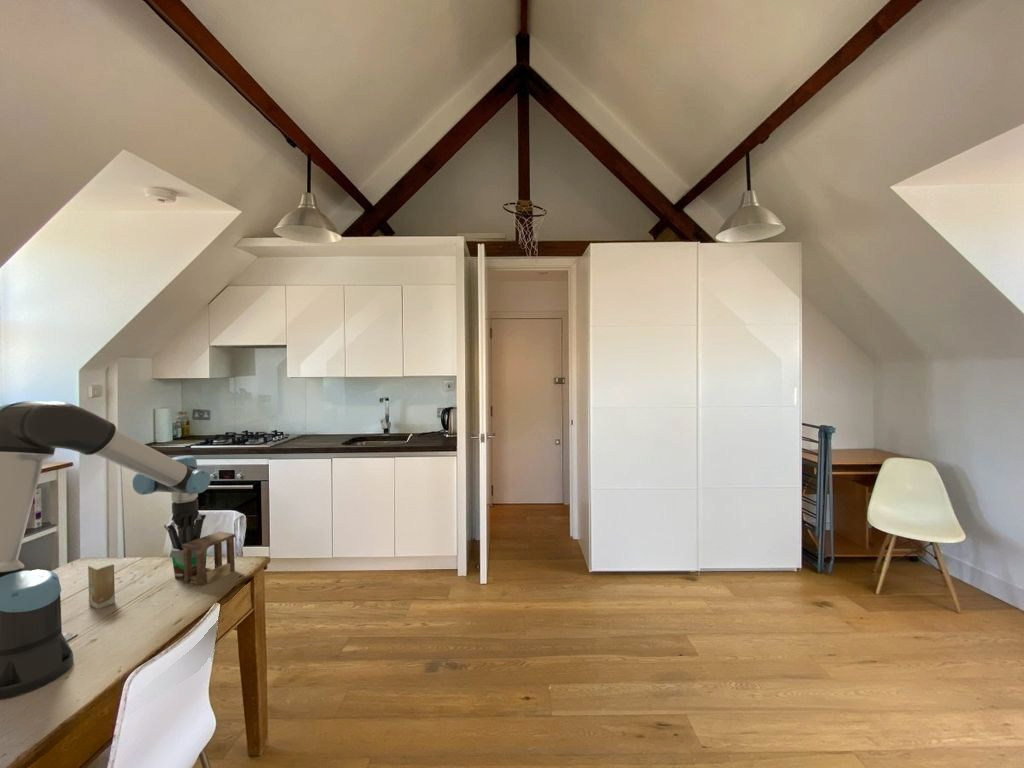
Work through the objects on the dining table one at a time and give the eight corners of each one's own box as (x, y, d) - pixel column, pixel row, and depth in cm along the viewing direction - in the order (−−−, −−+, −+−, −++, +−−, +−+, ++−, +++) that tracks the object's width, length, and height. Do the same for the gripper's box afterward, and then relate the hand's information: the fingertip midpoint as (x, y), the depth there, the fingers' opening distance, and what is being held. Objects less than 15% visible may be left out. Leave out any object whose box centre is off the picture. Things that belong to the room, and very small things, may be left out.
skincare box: (88, 604, 136) (86, 565, 136) (106, 598, 140) (104, 559, 139) (97, 609, 133) (96, 569, 133) (116, 602, 137) (114, 563, 136)
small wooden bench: (200, 587, 146) (198, 548, 146) (182, 583, 149) (181, 544, 149) (237, 570, 158) (236, 534, 158) (220, 566, 161) (219, 531, 161)
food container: (182, 582, 149) (181, 553, 149) (170, 579, 152) (169, 550, 151) (218, 567, 161) (217, 540, 161) (206, 564, 163) (205, 537, 163)
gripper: (172, 506, 150) (174, 575, 151) (210, 495, 162) (212, 559, 163) (157, 504, 153) (160, 572, 153) (196, 494, 165) (198, 556, 166)
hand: (187, 565), depth 158 cm, fingers closed
